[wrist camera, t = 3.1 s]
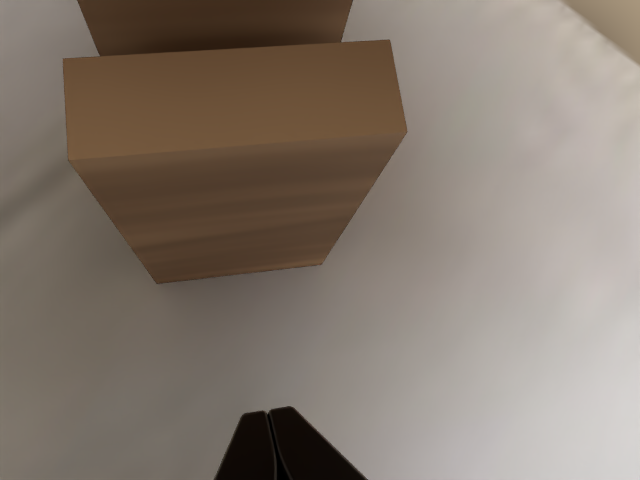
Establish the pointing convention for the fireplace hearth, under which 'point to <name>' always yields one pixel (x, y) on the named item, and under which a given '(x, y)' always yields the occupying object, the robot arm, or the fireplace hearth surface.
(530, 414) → the fireplace hearth surface
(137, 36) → the domino
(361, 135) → the domino
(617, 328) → the fireplace hearth surface
